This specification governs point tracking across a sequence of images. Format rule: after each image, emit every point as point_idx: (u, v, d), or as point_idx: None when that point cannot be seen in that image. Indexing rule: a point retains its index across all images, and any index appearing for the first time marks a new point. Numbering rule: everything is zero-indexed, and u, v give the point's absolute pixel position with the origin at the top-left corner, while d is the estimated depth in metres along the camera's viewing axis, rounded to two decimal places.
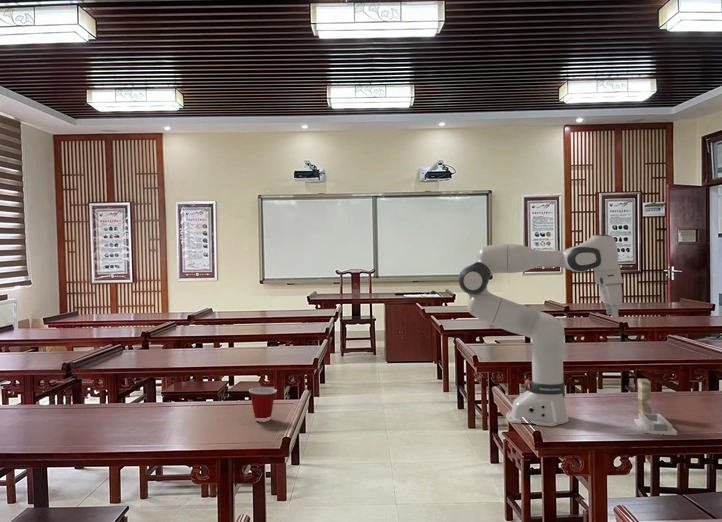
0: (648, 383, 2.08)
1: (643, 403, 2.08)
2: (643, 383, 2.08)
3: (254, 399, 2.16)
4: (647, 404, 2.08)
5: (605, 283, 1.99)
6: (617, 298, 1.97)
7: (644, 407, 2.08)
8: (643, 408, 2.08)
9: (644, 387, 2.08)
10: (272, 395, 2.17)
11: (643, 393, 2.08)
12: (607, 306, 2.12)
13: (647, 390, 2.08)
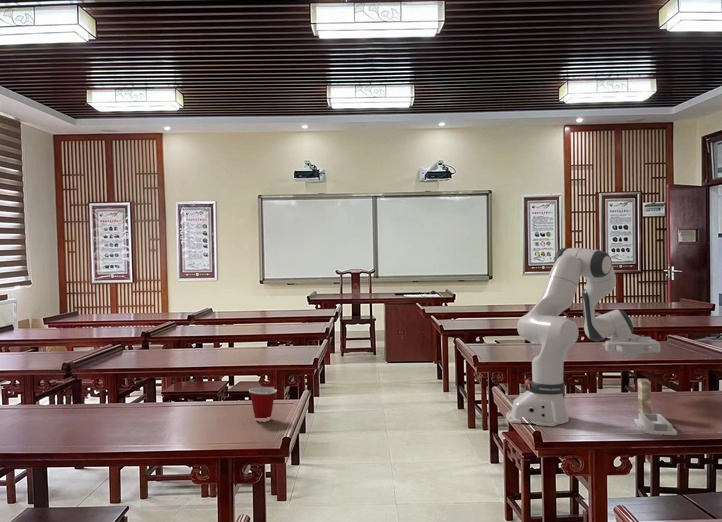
0: (648, 383, 2.08)
1: (643, 403, 2.08)
2: (643, 383, 2.08)
3: (254, 399, 2.16)
4: (647, 404, 2.08)
5: (650, 338, 2.31)
6: None
7: (644, 407, 2.08)
8: (643, 408, 2.08)
9: (644, 387, 2.08)
10: (272, 395, 2.17)
11: (643, 393, 2.08)
12: None
13: (647, 390, 2.08)
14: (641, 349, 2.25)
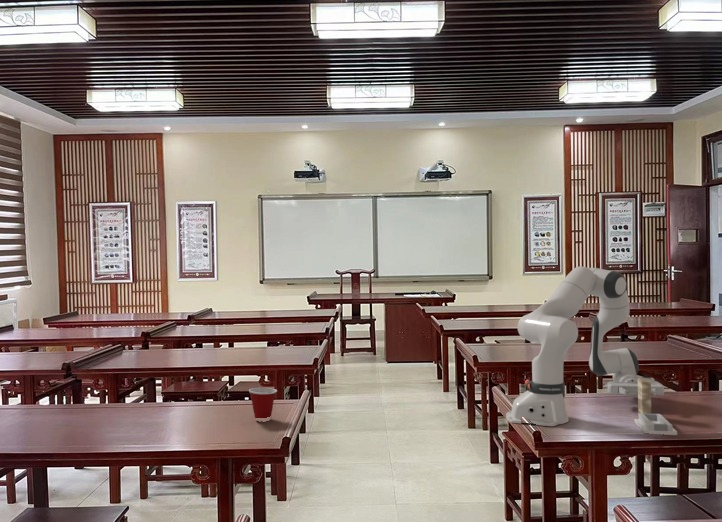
0: (648, 383, 2.08)
1: (643, 403, 2.08)
2: (643, 383, 2.08)
3: (254, 399, 2.16)
4: (647, 404, 2.08)
5: None
6: None
7: (644, 407, 2.08)
8: (643, 408, 2.08)
9: (644, 387, 2.08)
10: (272, 395, 2.17)
11: (643, 393, 2.08)
12: None
13: (647, 390, 2.08)
14: None
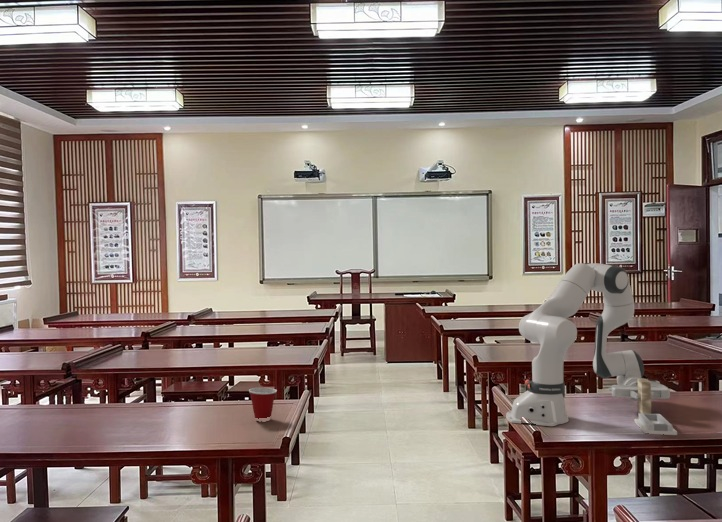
0: (648, 383, 2.08)
1: (643, 403, 2.08)
2: (643, 383, 2.08)
3: (254, 399, 2.16)
4: (647, 404, 2.08)
5: (659, 383, 2.21)
6: None
7: (644, 407, 2.08)
8: (643, 408, 2.08)
9: (644, 387, 2.08)
10: (272, 395, 2.17)
11: (643, 393, 2.08)
12: None
13: (647, 390, 2.08)
14: None
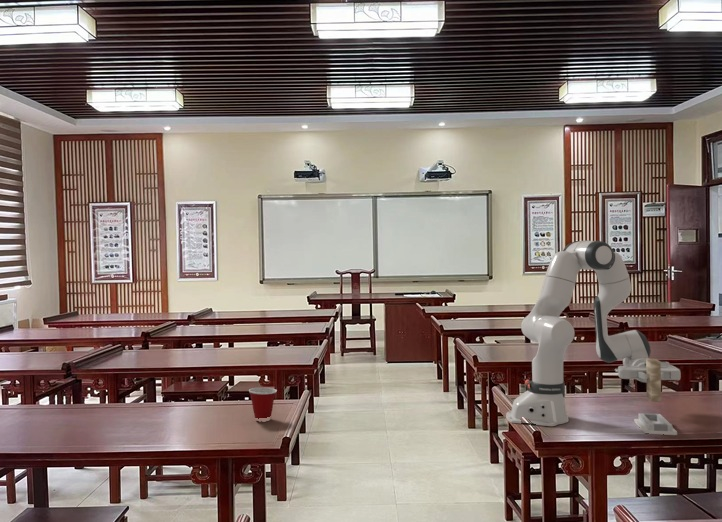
0: (658, 363, 1.95)
1: (652, 384, 1.96)
2: (652, 363, 1.96)
3: (254, 399, 2.16)
4: (657, 385, 1.96)
5: None
6: None
7: (653, 388, 1.96)
8: (653, 389, 1.96)
9: (653, 367, 1.96)
10: (272, 395, 2.17)
11: (652, 373, 1.96)
12: None
13: (657, 370, 1.96)
14: None
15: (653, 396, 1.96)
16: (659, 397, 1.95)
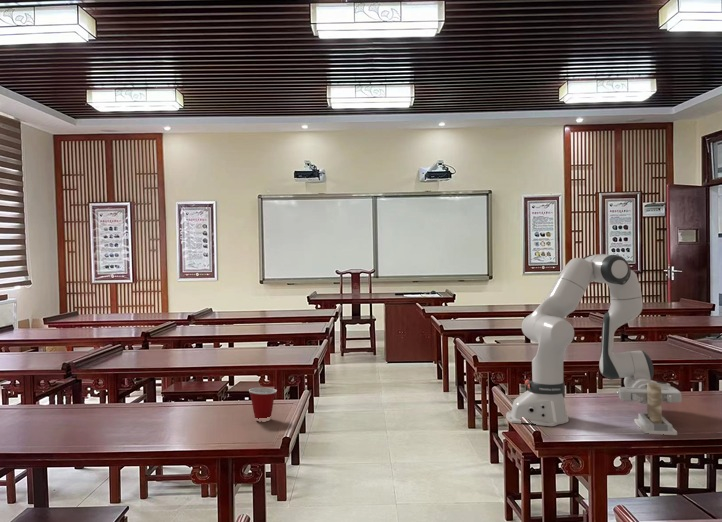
0: (658, 388, 1.95)
1: (653, 409, 1.96)
2: (653, 388, 1.96)
3: (254, 399, 2.16)
4: (657, 410, 1.95)
5: None
6: None
7: (654, 413, 1.96)
8: (653, 414, 1.96)
9: (654, 392, 1.96)
10: (272, 395, 2.17)
11: (653, 398, 1.96)
12: None
13: (657, 395, 1.95)
14: None
15: (654, 421, 1.96)
16: (660, 422, 1.95)
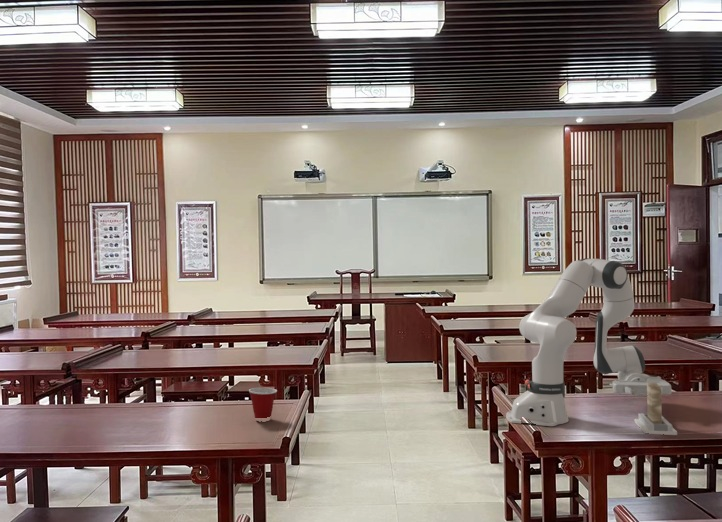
0: (658, 388, 1.95)
1: (653, 409, 1.96)
2: (653, 388, 1.96)
3: (254, 399, 2.16)
4: (657, 410, 1.95)
5: (660, 378, 2.19)
6: None
7: (654, 413, 1.96)
8: (653, 414, 1.96)
9: (654, 392, 1.96)
10: (272, 395, 2.17)
11: (653, 398, 1.96)
12: None
13: (657, 395, 1.95)
14: None
15: (654, 421, 1.96)
16: (660, 422, 1.95)
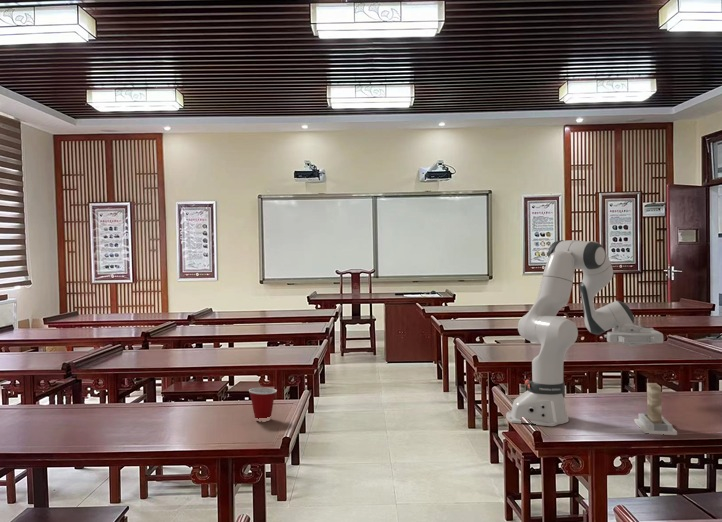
0: (658, 388, 1.95)
1: (653, 409, 1.96)
2: (653, 388, 1.96)
3: (254, 399, 2.16)
4: (657, 410, 1.95)
5: (653, 329, 2.27)
6: None
7: (654, 413, 1.96)
8: (653, 414, 1.96)
9: (654, 392, 1.96)
10: (272, 395, 2.17)
11: (653, 398, 1.96)
12: None
13: (657, 395, 1.95)
14: (643, 340, 2.21)
15: (654, 421, 1.96)
16: (660, 422, 1.95)
